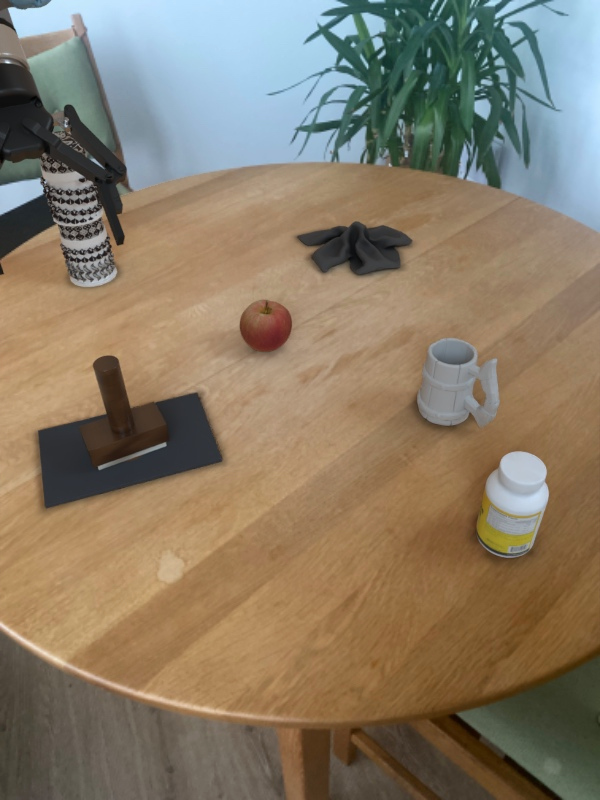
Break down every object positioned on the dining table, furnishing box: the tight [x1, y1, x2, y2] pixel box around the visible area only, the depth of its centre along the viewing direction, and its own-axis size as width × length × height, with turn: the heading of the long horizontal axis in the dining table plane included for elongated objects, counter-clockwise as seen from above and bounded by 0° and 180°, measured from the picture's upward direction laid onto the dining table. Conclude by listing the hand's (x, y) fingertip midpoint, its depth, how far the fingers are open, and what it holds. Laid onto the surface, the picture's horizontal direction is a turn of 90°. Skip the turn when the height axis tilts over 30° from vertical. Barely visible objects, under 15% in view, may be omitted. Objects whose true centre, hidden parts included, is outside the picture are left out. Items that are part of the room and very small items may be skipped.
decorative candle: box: [38, 130, 118, 288], centre depth 115 cm, size 9×9×25 cm
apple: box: [239, 299, 293, 353], centre depth 103 cm, size 8×8×8 cm
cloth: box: [296, 220, 413, 276], centre depth 126 cm, size 22×19×6 cm
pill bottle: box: [475, 450, 550, 559], centre depth 73 cm, size 6×6×12 cm
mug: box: [416, 337, 501, 429], centre depth 88 cm, size 8×12×12 cm, turn 41°
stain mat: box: [37, 392, 223, 509], centre depth 89 cm, size 22×14×1 cm, turn 110°
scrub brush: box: [79, 354, 170, 470], centre depth 83 cm, size 10×5×14 cm, turn 118°
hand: (62, 256), depth 76 cm, fingers open, 13 cm apart
